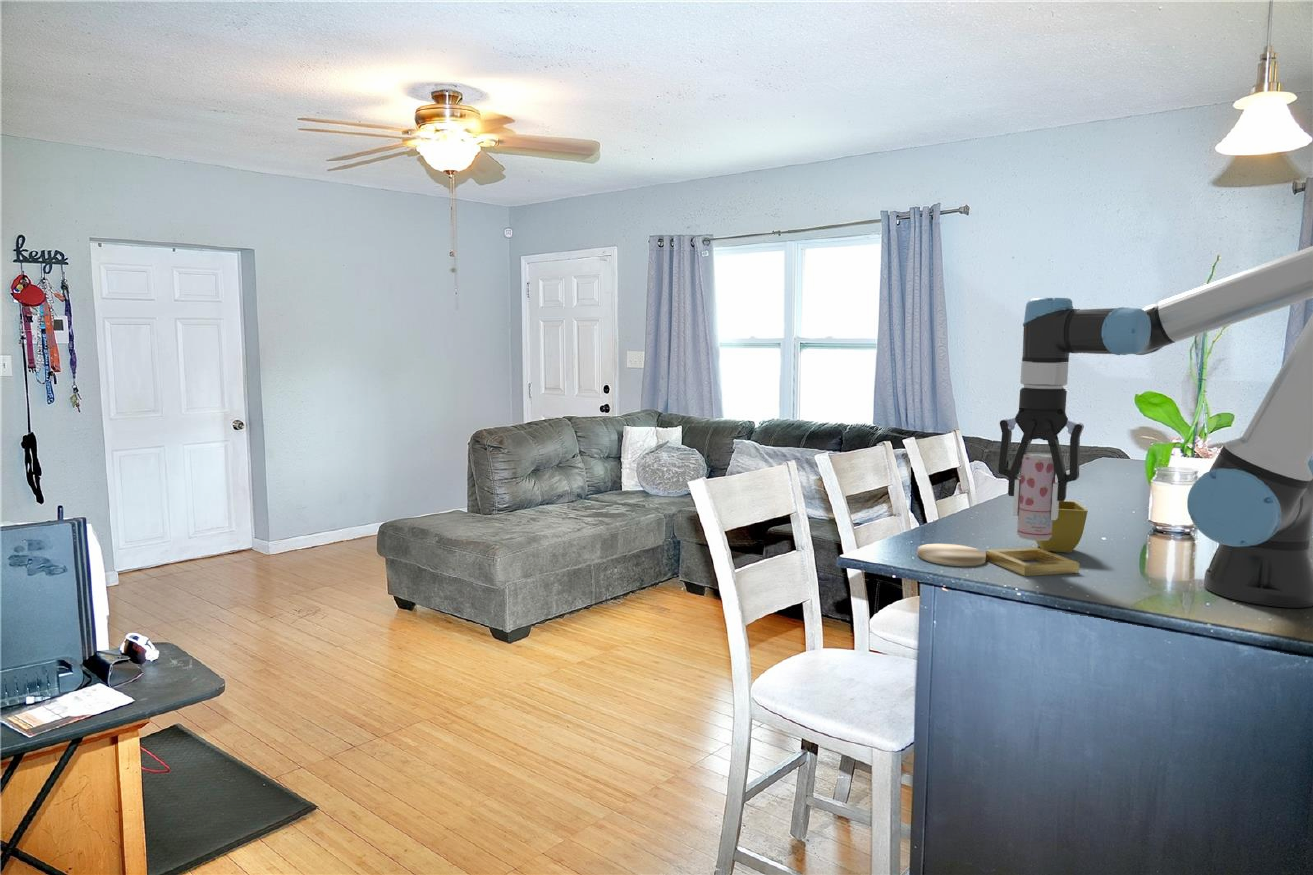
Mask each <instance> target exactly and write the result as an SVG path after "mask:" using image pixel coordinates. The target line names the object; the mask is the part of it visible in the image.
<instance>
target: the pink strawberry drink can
mask: <svg viewBox="0 0 1313 875" xmlns="http://www.w3.org/2000/svg"><path fill="white" fill-rule="evenodd" d="M1019 478H1020V493H1019V508H1018V516H1017V525H1016V535H1017V536H1018V537H1019V538H1020V539H1024V540H1028V541H1035V542H1036V541H1046V540H1049V538H1051V537H1052V522H1053V520H1051V509H1052V493H1053V483H1054V482H1055V481H1056V471H1055V467H1054V463H1053V459H1052V455H1051V453H1043V452H1027V453H1026V454H1024V455H1023V459H1022V462H1021V469H1020V477H1019Z"/></svg>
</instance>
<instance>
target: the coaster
mask: <svg viewBox="0 0 1313 875" xmlns="http://www.w3.org/2000/svg"><path fill="white" fill-rule="evenodd" d="M917 557H918V558H919V559H922V560H923V561H927V562H929V563H934V564H937V565H938V564H939V565H945V566H951V567H976V566H981V565H985V563H986V562H987V560H986V551H983V550H981V549H979V548H975V547H971V546H968V545H963V544H953V543H927V544H922V545H920V546H918V547H917Z"/></svg>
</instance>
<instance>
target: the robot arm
mask: <svg viewBox="0 0 1313 875" xmlns="http://www.w3.org/2000/svg"><path fill="white" fill-rule="evenodd" d="M1311 299H1313V245H1312V246H1309V247H1306V248H1303V249H1301V250H1297V251H1295V252H1292V253H1289V254H1286V255H1284V256H1281V257H1278V258H1276V259H1272V260H1271V261H1268V262H1265V263H1262V264H1259V265H1257V266H1253V267H1251V268H1249V269H1245V270H1243V271H1239V272H1237V273H1234V274H1232V275H1229V276H1227V277H1223V278H1220V279H1218V280H1215V281H1212V282H1210V283H1207V284H1204V285H1201V286H1198V287H1196V288H1193V289H1191V290H1188V291H1185V292H1182V293H1180V294H1177V295H1174V296H1171V297H1169V298H1165V299H1164V300H1160V301H1157V302H1155V303H1151V304H1149V305H1146V306H1144V307H1141V308H1135V307H1124V306H1123V307H1115V308H1113V307H1111V308H1089V309H1087V308H1086V309H1081V308H1074V306H1073V301H1072V299H1071V298H1068V297H1036V298H1031V299H1030V300H1028V301H1027V302H1026V304H1025V310H1024V319H1023V322H1022V327H1023V332H1022V333H1023V334H1022V358H1021V363H1020V364H1021V368H1020V381H1019V383H1020V384H1021V385H1023V387H1021V388H1020V389H1019V399H1018V411H1017V413H1016V415H1015V417H1013V418H1008V419H1007V418H1005V419H1002V420H1000V421H999V427H1000V429H1001V440H1000V451H999V458H998V459H999V462H998V467H997V468H998V470H997V471H998V474H1000V475H1003V476H1004V477H1007V479H1008V486H1007V487H1008V490H1007V494H1008V496H1009V497H1013V509H1012V516H1015V517H1018V508H1019V493H1020V477H1019V474H1020V473H1021V462H1022V459H1023V455H1024V454H1026V453H1028V452H1029V451H1028V450H1029V448H1030V445H1031V443H1032V441H1033V440H1042V441H1047V445H1048V446H1049V450H1050V451H1049V452H1050V454H1051V455H1052V459H1053V463H1054V467H1055V471H1056V473H1055V476H1056V477H1057V478H1056V479H1057V481H1056V480H1055V482H1054V483H1053V493H1052V509H1051V520H1056V519H1057V518H1058V510H1059V501H1066V498H1067V488H1068V487H1067V486H1068V483H1070V482H1074V481H1076V480H1078V479H1079V477H1080V455H1081V454H1080V448H1081V445H1080V443H1081V442H1080V441H1081V435H1082V433H1083V431H1084V427H1085V426H1084V424H1083V423H1081V422H1079V423H1076V422H1074V421H1071V420H1069V417H1068V416H1067V412H1066V408H1067V393H1068V392H1067V390H1066V388H1064V386H1067V385H1068V380H1069V379H1068V378H1069V377H1068V375H1069V360H1070V359H1069V358H1070V354H1090V355H1091V354H1093V355H1094V354H1095V355H1115V356H1128V355H1136V356H1144V355H1149V354H1152V353H1156V352H1158V351H1160V350H1162V349H1163V348H1164V347H1166V346H1169V345H1172V344H1175V343H1178V342H1180V341H1184V340H1187V339H1190V338H1193V337H1196V336H1199V335H1202V334H1205V333H1209V332H1212V331H1215V330H1218V329H1221V328H1225V327H1227V326H1229V325H1233V324H1236V323H1239V322H1244V321H1246V320H1249V319H1252V318H1255V317H1258V316H1261V315H1264V314H1269V313H1271V312H1274V311H1277V310H1281V309H1283V308H1285V307H1290V306H1293V305H1295V304H1298V303H1302V302H1305V301H1308V300H1311ZM1016 424H1017V426H1018V427H1019V429H1020V430H1021V432H1022V433H1023V435H1022V438H1021V439H1020V443H1019V447H1018V450H1017V452H1016V454H1015V457H1014V459H1013V462H1012V465H1011V467H1010V468H1009V464H1010V455H1011V447H1012V446H1011V445H1012V435H1013V430H1014V429H1015V428H1016V427H1015V426H1016ZM1065 427H1066V428H1067V433H1068V434H1069V435H1070V439H1069V473H1068V474H1067V471H1066V466H1065V462H1064V459H1063V453H1062V450H1061V446H1060V440H1059V437H1058V435H1059V434H1060V433H1061V432H1062V430H1064V429H1065ZM1312 456H1313V312H1312V313H1311V315H1310V316H1309V319H1308V321H1307V322H1306V324H1305V326H1304V327H1303V329H1302V331H1301V333H1300V334H1299V336H1298V338H1297V339H1296V341H1295V343H1294V345H1293V347H1292V349H1291V351H1290V352H1289V354H1288V355H1287V357H1286V359H1285V360H1284V363H1282V366H1281V368H1280V370H1278V373H1277V374H1276V377H1275V378H1274V380H1273V382H1272V384H1271V386H1270V387H1269V389H1268V391H1267V393H1265V396H1264V397H1263V399H1262V400H1261V403H1260V405H1259V407H1258V408H1257V410H1256V412H1255V413H1254V415H1253V417H1252V419H1251V421H1250V423H1249V424H1248V426H1247V428H1246V429H1245V431H1244V433H1243V434H1242V436H1240V437H1239V438H1235V439H1232V440H1229V441H1225V443H1224V445H1223V446H1222V447H1221V450H1220V452H1219V453H1218V455H1217V457H1216V458H1215V460H1214V462H1213V463H1212V465H1211V467H1210V468H1209V471H1207V472H1206V471H1205V473H1203V474H1202V475H1201V476H1199V477H1198V479H1197V480H1196V481H1195V482H1194V483H1193V484H1192V485H1191V487H1190V490H1189V491H1188V494H1187V501H1186V504H1187V512H1188V515H1189V517H1190V519H1191V521H1192V523H1193V525H1194V526H1195V527H1196V529H1197V530H1198V531H1199V532H1200V533H1201V534H1202V535H1204V537H1206V538H1207V539H1209V540H1212V541H1213V542H1215V543H1218V546H1217V549H1216V550H1215V553H1214V554H1213V556H1212V558H1211V561H1210V563H1209V566H1208V568H1207V569H1206V570H1205V573H1204V579H1203V587H1204V588H1205V589H1206V590H1208V591H1209V592H1211V593H1214V594H1216V595H1218V596H1221V597H1225V598H1228V599H1230V600H1231V599H1232V600H1235V601H1240V602H1243V603H1244V602H1245V603H1249V604H1255V605H1262V606H1269V607H1276V608H1277V607H1279V608H1291V609H1292V608H1293V609H1294V608H1299V609H1301V608H1309V607H1313V566H1312V561H1311V558H1310V555H1309V554H1310V543H1311V542H1310V541H1311V532H1312V525H1313V524H1312V523H1313V459H1312V458H1311V457H1312Z"/></svg>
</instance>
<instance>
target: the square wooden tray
mask: <svg viewBox="0 0 1313 875" xmlns="http://www.w3.org/2000/svg"><path fill="white" fill-rule="evenodd" d="M985 554H986V562H987V561H988V562H989V563H992V564H995V565H997V566H999V567H1002V568H1004V569H1006V570H1009V571H1011V572H1013V573H1016V574H1018V575H1021V576H1023V577H1028V576H1029V577H1032V576H1049V575H1064V574H1065V575H1067V574H1079V572H1080V571H1079V570H1080V562H1078V561H1076V560H1072V559H1070V558H1067V557H1064V556H1061V555H1059V554H1056V553H1054V552H1052V551H1045V550H1042V549H1041V548H1040V547H1023V548H1001V549H986V550H985ZM1030 560H1032V561H1033V560H1036V561H1038V562H1024V561H1030Z"/></svg>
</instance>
